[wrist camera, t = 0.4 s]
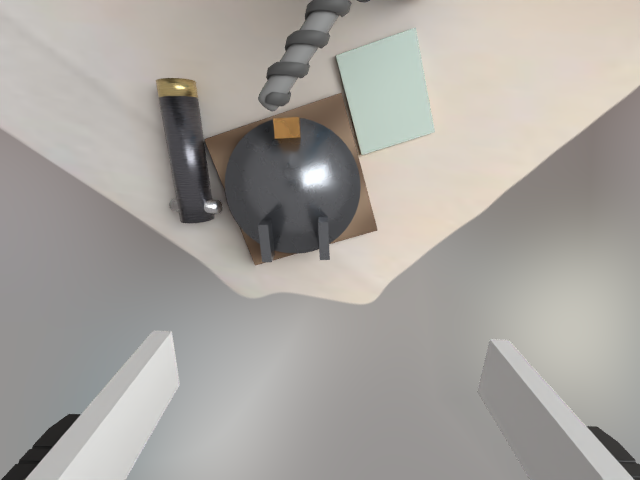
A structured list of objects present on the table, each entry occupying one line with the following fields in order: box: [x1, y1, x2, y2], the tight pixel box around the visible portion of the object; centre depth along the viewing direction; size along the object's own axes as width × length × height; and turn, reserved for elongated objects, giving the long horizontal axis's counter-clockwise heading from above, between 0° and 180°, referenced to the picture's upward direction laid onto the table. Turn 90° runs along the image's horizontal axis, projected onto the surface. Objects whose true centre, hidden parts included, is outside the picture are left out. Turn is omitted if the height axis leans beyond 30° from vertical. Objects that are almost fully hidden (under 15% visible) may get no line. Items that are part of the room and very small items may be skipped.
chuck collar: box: [225, 117, 361, 262], centre depth 32 cm, size 14×14×4 cm
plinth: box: [204, 93, 377, 265], centre depth 35 cm, size 15×15×2 cm
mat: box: [336, 28, 435, 155], centre depth 32 cm, size 10×8×1 cm
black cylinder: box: [156, 78, 222, 223], centre depth 33 cm, size 6×4×14 cm
